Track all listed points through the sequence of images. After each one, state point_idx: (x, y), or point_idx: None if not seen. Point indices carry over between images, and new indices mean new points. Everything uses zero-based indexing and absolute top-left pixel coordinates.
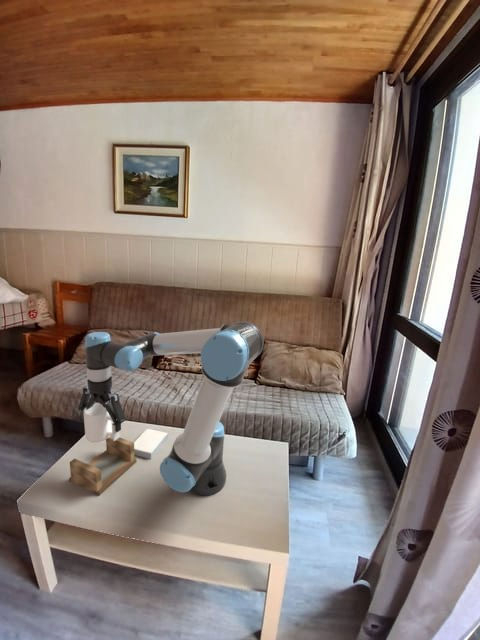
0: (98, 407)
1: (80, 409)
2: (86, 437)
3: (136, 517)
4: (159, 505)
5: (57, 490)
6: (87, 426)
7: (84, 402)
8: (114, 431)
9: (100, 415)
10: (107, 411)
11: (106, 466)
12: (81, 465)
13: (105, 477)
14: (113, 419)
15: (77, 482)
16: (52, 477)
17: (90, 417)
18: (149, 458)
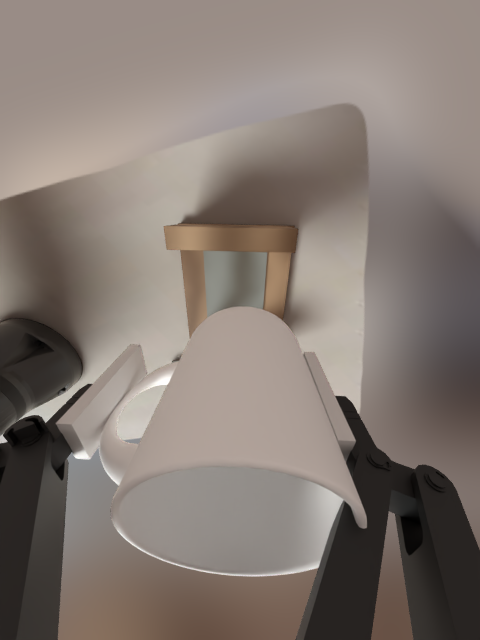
0: (293, 514)
1: (420, 476)
2: (265, 314)
3: (50, 208)
4: (44, 262)
5: (297, 182)
6: (248, 354)
7: (433, 598)
8: (99, 381)
9: (121, 482)
10: (28, 561)
11: (233, 302)
12: (243, 235)
13: (204, 271)
14: (24, 466)
15: (260, 225)
16: (349, 215)
17: (195, 435)
18: (175, 361)
